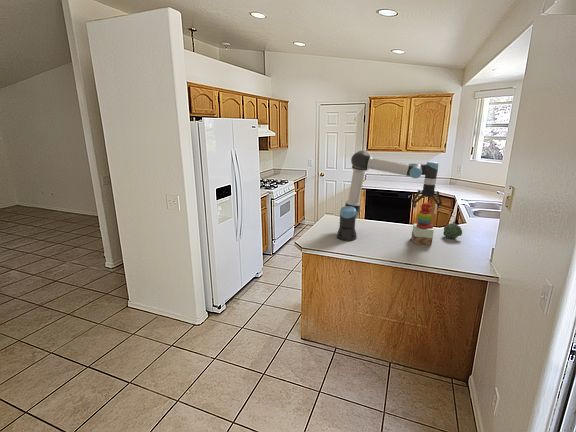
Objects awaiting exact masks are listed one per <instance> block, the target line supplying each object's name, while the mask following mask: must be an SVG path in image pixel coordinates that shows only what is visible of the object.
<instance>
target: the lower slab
mask: <svg viewBox="0 0 576 432" xmlns="http://www.w3.org/2000/svg"><path fill="white" fill-rule="evenodd" d="M411 240H412V242H413V244H414V245H423V246H424V245H426V246H432V244H433V238H427V237H415V235H414V233H413V230H411Z"/></svg>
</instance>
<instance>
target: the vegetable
mask: <svg viewBox="0 0 576 432" xmlns="http://www.w3.org/2000/svg"><path fill="white" fill-rule="evenodd" d="M462 235H463V230H462V227H461V226H460V225H459V224H457V223H456V222H455V223H453V222H450V223H448V224H446V225H445V226H443V236H445V238H449V239H452V240H453V239H457V238H458V237H459V236H460V237H461V236H462Z"/></svg>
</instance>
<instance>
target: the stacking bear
mask: <svg viewBox="0 0 576 432" xmlns="http://www.w3.org/2000/svg"><path fill="white" fill-rule="evenodd" d="M420 208H421V210H419V212H418V214H417V217H416V218H417V219H416V220H417V223H416V224H417V227H419V228H421V229H427V228H433V229H434V225H433V224H431V221H432V209H433V207H432V205H431V204H430V202H424V203H421V206H420Z"/></svg>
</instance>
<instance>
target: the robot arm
mask: <svg viewBox="0 0 576 432" xmlns="http://www.w3.org/2000/svg"><path fill="white" fill-rule="evenodd" d="M350 163H351V169H352V170H353V171H352V176H351V181H350V188H349V193H348V197H347V199H348V200H346V201H345V205H344V206H342V207H341V208H340V211H339V225H338V226H339V227H338V231H337V232H336V238H337V239H338V240H341V241H348V242H349V241H350V242H353V241H355V240H357V231H356V219H357V218H358V217H359V215H360V213H361V203H360V199H361V194H362V189H363V184H364V178H365V173H366V172H367V171H368V170H375V171H378V172H386V173H391V174H395V175H396V174H397V175H400V176H406V177H410V178H412V179H419V178H420V177H421V176H424V181H423V186H422V190H421V189H417V192H416V194H415V195H414V196H413V198H412V199H411V203H413V206H412V207H413V208H414V213H417V208H418V202H419V201H421V200H422V199H423V198H424V197H425V198H432V200H433V201H434V202H435V205H434V206H435V207H434V211H433V214H434V215H437V212H438V211H437V210H439V208H440V205H443V201H442V199H441V196H440V191H439V190H436V181H437V178H438V171H439V163H438V162H437V161H433V160H432V161H430V160H429V161H427V162H426V163H411V162H410V163H408V164H406V163H401V162H396V161H390V160H385V159H378V158H375V157H374V158H373V157H372V156H370V153H369V152H368V151H366V150H359V151H357V152H355V153H353V154H352V156H351V158H350ZM435 190H436V191H435ZM420 194H421V195H420ZM434 194H435V195H436V197H437V199H436V197H435V196H434ZM419 195H420V196H419Z"/></svg>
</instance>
